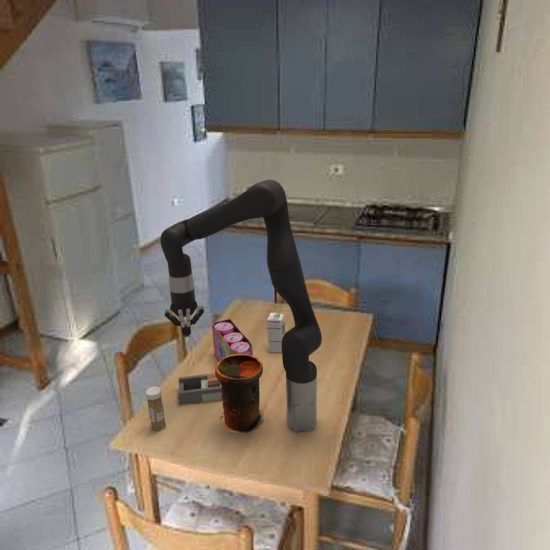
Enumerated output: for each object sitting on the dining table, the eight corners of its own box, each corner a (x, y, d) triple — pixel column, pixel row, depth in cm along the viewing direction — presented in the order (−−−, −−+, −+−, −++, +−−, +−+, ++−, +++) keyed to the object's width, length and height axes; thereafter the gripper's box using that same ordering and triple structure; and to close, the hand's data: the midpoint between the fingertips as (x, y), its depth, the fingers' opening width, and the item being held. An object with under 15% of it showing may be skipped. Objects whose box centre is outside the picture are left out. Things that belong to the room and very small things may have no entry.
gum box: (256, 380, 174) (255, 347, 169) (235, 386, 171) (233, 352, 166) (232, 348, 194) (230, 318, 189) (213, 353, 191) (210, 322, 186)
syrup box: (282, 353, 190) (282, 320, 184) (267, 352, 191) (266, 318, 186) (285, 345, 195) (284, 313, 190) (271, 344, 196) (269, 312, 191)
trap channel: (244, 396, 166) (243, 385, 164) (179, 404, 162) (178, 393, 161) (241, 380, 174) (240, 369, 172) (179, 388, 171) (178, 377, 169)
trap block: (220, 387, 166) (219, 379, 165) (208, 388, 165) (207, 381, 164) (219, 380, 170) (218, 372, 168) (207, 381, 169) (207, 374, 168)
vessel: (234, 399, 164) (231, 348, 156) (271, 412, 158) (271, 359, 150) (209, 425, 153) (205, 371, 145) (249, 440, 147) (247, 385, 138)
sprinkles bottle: (166, 429, 152) (161, 393, 146) (151, 432, 150) (145, 396, 145) (165, 420, 156) (160, 384, 150) (150, 423, 155) (145, 387, 149)
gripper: (159, 294, 149) (165, 343, 156) (203, 290, 151) (208, 339, 158) (160, 284, 156) (166, 332, 162) (202, 280, 158) (206, 328, 164)
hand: (187, 335), depth 160 cm, fingers closed
